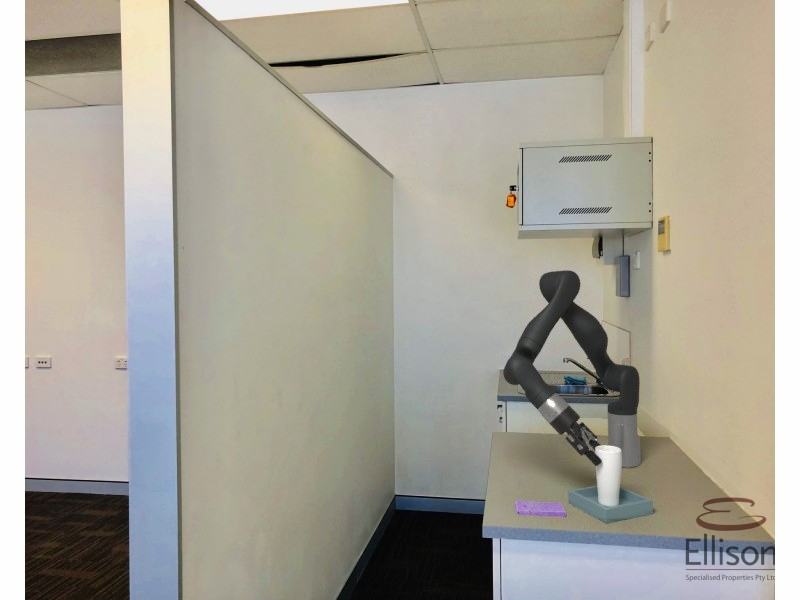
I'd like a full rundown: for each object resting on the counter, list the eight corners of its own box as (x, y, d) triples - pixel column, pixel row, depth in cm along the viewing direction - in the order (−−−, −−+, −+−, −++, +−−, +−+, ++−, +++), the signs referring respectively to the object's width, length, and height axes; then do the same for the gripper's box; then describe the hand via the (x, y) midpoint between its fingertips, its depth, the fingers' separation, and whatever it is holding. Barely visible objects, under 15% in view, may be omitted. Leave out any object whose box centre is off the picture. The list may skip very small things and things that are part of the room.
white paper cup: (608, 510, 147) (608, 453, 146) (589, 502, 153) (589, 447, 152) (627, 506, 149) (627, 450, 149) (608, 497, 156) (608, 443, 155)
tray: (612, 495, 160) (612, 482, 160) (652, 513, 146) (652, 500, 146) (568, 503, 155) (568, 490, 155) (606, 523, 141) (606, 509, 141)
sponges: (515, 507, 155) (515, 500, 155) (562, 508, 153) (562, 501, 153) (516, 517, 148) (516, 509, 148) (566, 518, 146) (565, 511, 146)
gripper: (561, 409, 149) (608, 458, 144) (573, 400, 162) (616, 444, 156) (542, 427, 152) (587, 475, 147) (555, 417, 164) (597, 461, 159)
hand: (602, 459), depth 151 cm, fingers open, 8 cm apart
